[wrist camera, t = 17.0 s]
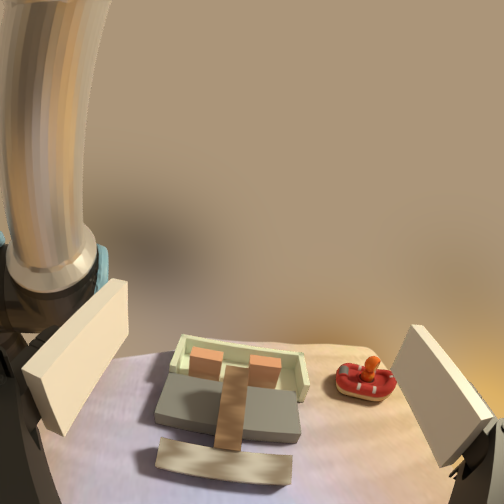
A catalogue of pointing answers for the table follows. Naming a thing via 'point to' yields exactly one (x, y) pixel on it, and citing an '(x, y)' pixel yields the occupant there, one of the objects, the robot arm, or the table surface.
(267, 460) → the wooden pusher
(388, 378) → the toy boat
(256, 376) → the tile
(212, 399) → the slate board
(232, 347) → the tray
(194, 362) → the tile
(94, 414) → the table surface
